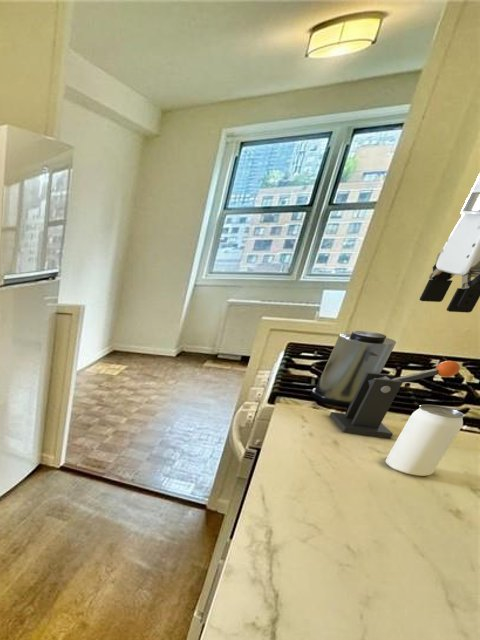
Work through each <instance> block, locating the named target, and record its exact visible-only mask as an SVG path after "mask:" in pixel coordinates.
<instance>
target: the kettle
mask: <svg viewBox="0 0 480 640" xmlns="http://www.w3.org/2000/svg"><path fill="white" fill-rule="evenodd" d="M396 344H397V341H396V340H394V339H391V338H389V337H387V335H386V334H383V333H379V332H375V331H367V330H354V331H352V332H342V333H340V334H339V335H338V337H337V340H336V342H335V344H334V346H333V349H332V351H331V352H330V355H329V357H328V360H327V362H326V364H325V366H324V369H323V371H322V373H321V375H320V378H319V379H318V382H317V384H316V386H315V387H314V388H312V389H311V392H310V394H309V395H310V397H311V398H312V399H314V400H316V401H319V402H321V403H323V404H327V405H331V406H335V407H340V408H347V409H348V408H349V406H350V404H351V402H352V400H353V398H354V396H355V394H356V392H357V390H358V388H359V386H360V384H361V382H362V380H363V377H364V375H365V373H366V372H371V373H381V374H382V373H383V369H384V368H385V366H386V363H387V362H388V359H389V357H390V356H391V353H392V352H393V350H394V348H395V346H396Z"/></svg>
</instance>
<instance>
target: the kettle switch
mask: <svg viewBox="0 0 480 640" xmlns="http://www.w3.org/2000/svg"><path fill="white" fill-rule="evenodd" d="M460 370H461V365H460V364H459V363H458V362H456V361H454V360H445V361H441V362H440V363H438V364H437V365H436V367H435V368H432V369H427V370H423V371H420V372H415V373H411V374H407V375H403V376H398V377H394V378H393V379H389V378H388V377H386V376H384V377H380V379H389V380H399V381H402V382H403V383H402V384H405V383H407V382H412V381H417V380H421V379H425V378H429V377H434V376H440V377H442V378H443V377H444V378H449V377H453V376H455V375H457V374H458V373H459V372H460ZM372 381H373V379H372V380H368V382H369V387H370V385H371V383H372Z"/></svg>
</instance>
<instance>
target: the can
mask: <svg viewBox="0 0 480 640" xmlns="http://www.w3.org/2000/svg"><path fill="white" fill-rule="evenodd" d="M464 417H466V416H465V413H463V412H461V411H460V410H457V409H454V408H451V407H448V406H443V405H437V404H421V405H419V408H418V409H416V410H414V411H413V412H412V413H411V415H410V416H409V418H408V420H407V421H406V423H405V425H404V427H403V428H402V430H401V432H400V434H399V435H398V437H397V439H396V440H395V443H393V446H392V448H391V450H390V452H388V455H387V457H386V459H385V463H386V465H387V466H388V467H389V468H391V469H392V470H394V471H396V472H399V473H402V474H405V475H409V476H415V477H428V476H431V475H433V473H434V472H435V470H436V468H437V467H438V466H439V464H440V462H442V459H443V458H444V457H445V454H446V453H447V452H448V450H449V448H450V447H451V445H452V443H453V442H454V441H455V439H456V437H457V435H458V434H459V432H460V430H461V429H462V428H463V426H464V420H463V419H464Z"/></svg>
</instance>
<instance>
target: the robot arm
mask: <svg viewBox="0 0 480 640" xmlns="http://www.w3.org/2000/svg"><path fill="white" fill-rule="evenodd" d="M459 213H460V215H461V217H460V218H459V220H458V221H457V223H456V225H455V226H454V228H453V230H452V232H451V233H450V235H449V236H448V239H447V240H446V242H445V244H444V246H443V247H442V250H441V252H439V253H438V254H437V255H436V259H435V263H434V265H433V266H432V272H431V273H430V274H429V276H428V281H427V283H426V285H425V286H424V289H423V291H422V293H421V294H420V297H419V301H421V302H429V303H430V302H431V303H432V302H433V303H441V302H442V301H444V299H445V297H446V295H447V292H448V291H449V289H450V287H451V285H452V284H453V280H452V278H454V276H460V277H461V287H458V288H456V290H455V292H454V294H453V296H452V298H451V300H450V302H449V304H448V305H447V307H446V311H447V312H449V313H450V312H451V313H467V314H468V313H471V312H472V311H473V310H474V308H475V306H476V304H477V303H478V301H479V300H480V173H479V174H478V176H477V178H476V181H475V182H474V185H473V187H472V188H471V190H470V193H469V194H468V197H467V198H466V200H465V203H464V205H463V207H462V209H461V211H460V212H459Z"/></svg>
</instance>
